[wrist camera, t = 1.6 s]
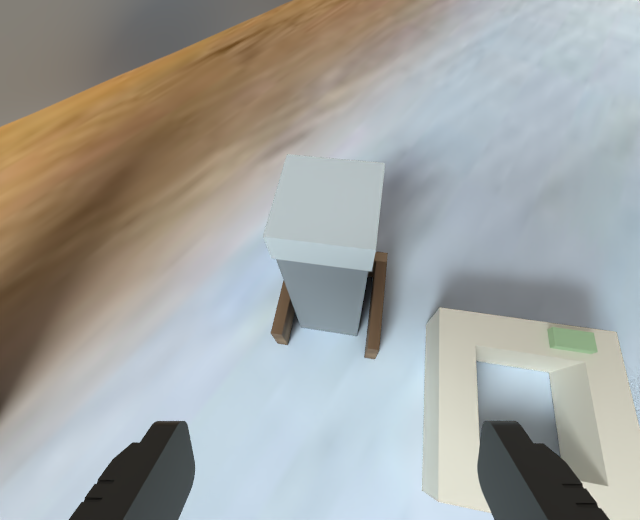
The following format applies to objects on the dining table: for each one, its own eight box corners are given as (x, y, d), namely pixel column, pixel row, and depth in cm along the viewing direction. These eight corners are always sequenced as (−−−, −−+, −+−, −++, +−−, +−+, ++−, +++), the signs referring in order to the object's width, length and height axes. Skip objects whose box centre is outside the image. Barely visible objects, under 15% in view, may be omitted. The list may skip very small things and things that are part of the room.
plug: (298, 328, 27) (262, 236, 14) (309, 275, 29) (286, 154, 16) (358, 338, 26) (376, 250, 14) (365, 282, 28) (385, 162, 16)
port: (421, 490, 21) (441, 504, 17) (426, 324, 26) (441, 304, 22) (610, 529, 20) (680, 554, 16) (576, 346, 25) (623, 329, 21)
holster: (277, 343, 26) (270, 333, 23) (297, 258, 29) (292, 241, 27) (374, 359, 25) (379, 350, 22) (383, 269, 29) (387, 253, 26)
